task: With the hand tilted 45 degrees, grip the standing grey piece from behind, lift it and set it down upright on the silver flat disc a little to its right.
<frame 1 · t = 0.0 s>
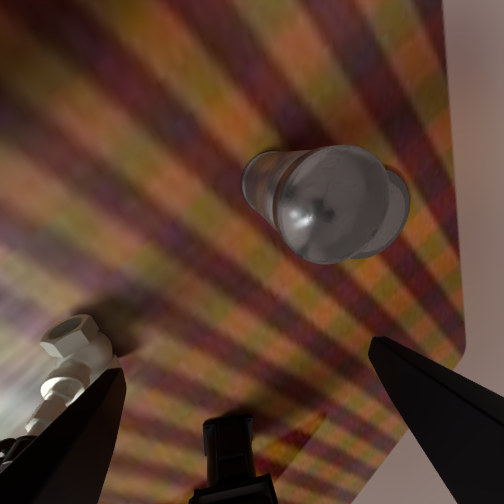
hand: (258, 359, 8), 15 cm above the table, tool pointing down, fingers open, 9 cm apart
grey piece: (270, 183, 21), on the table
silver flat disc: (364, 215, 24), on the table
valve: (95, 337, 23), on the table
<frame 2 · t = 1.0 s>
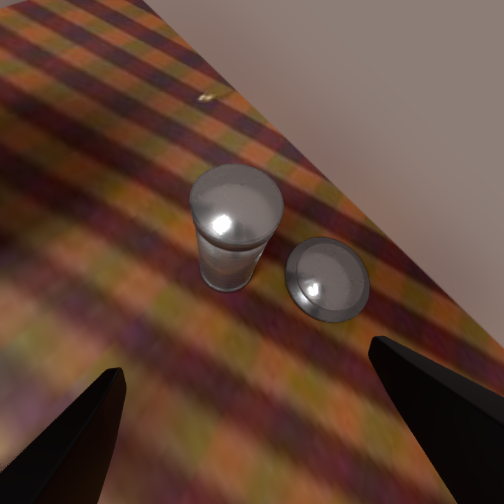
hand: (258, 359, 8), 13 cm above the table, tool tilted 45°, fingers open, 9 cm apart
grey piece: (226, 267, 23), on the table
silver flat disc: (326, 278, 25), on the table
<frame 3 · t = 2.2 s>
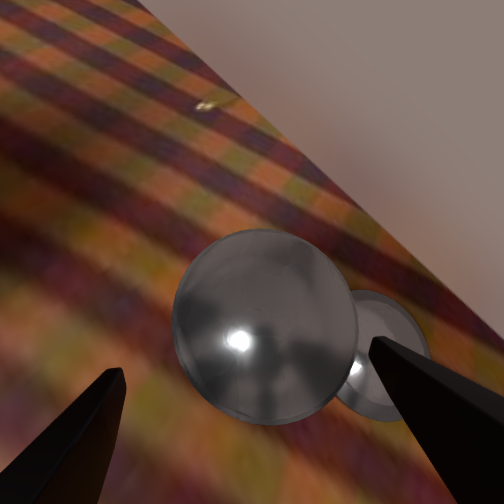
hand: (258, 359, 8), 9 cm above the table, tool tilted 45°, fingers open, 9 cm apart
grey piece: (235, 339, 17), on the table
silver flat disc: (370, 349, 18), on the table
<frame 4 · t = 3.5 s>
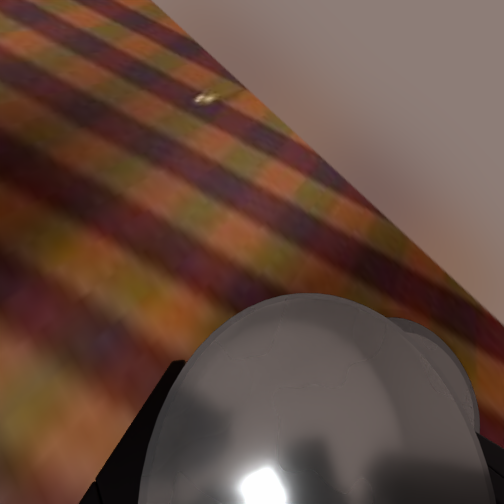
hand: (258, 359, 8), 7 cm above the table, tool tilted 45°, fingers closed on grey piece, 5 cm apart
grey piece: (241, 382, 14), on the table, touching gripper
silver flat disc: (404, 391, 15), on the table
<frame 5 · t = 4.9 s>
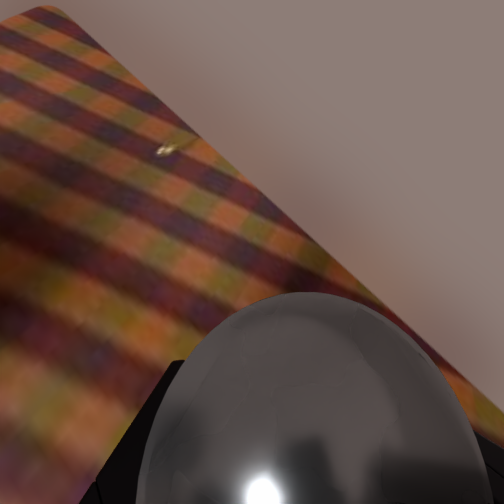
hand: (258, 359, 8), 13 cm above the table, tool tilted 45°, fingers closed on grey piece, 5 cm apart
grey piece: (241, 382, 14), point 7 cm above the table, touching gripper
when the fingers open (8 cm above the table, at t = 6.7 s): grey piece stays where it is, resting on silver flat disc.
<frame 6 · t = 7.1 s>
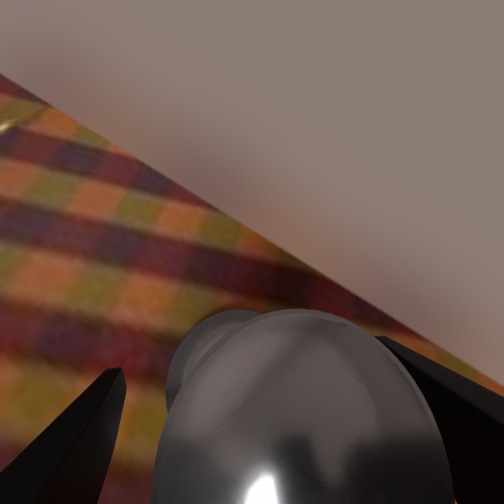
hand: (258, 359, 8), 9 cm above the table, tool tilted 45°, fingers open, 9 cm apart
grey piece: (240, 383, 14), point 1 cm above the table, touching silver flat disc
silver flat disc: (238, 379, 16), on the table
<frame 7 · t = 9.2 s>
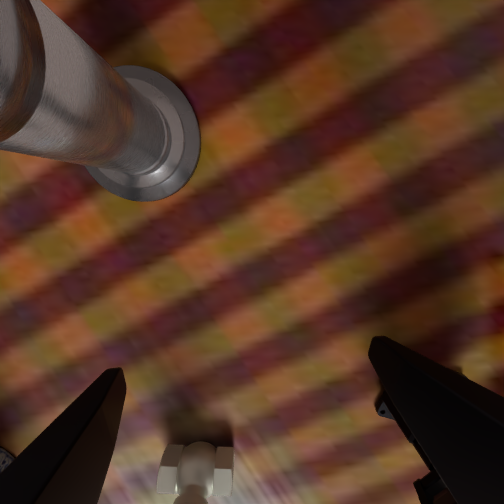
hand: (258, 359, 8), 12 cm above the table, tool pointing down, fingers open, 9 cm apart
grey piece: (134, 136, 16), point 1 cm above the table, touching silver flat disc
silver flat disc: (140, 139, 17), on the table
valve: (203, 444, 25), on the table
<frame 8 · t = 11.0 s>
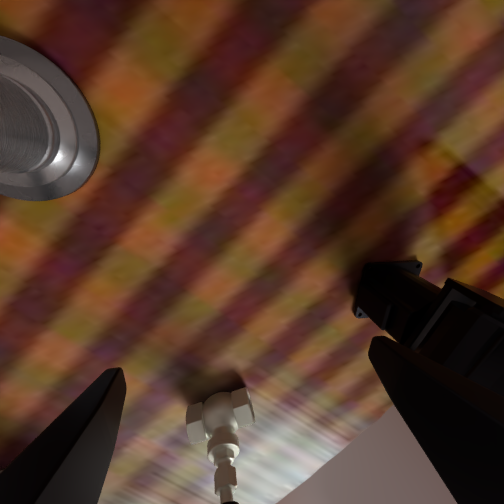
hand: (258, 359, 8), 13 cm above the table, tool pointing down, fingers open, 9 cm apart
grey piece: (9, 126, 14), point 1 cm above the table, touching silver flat disc
silver flat disc: (21, 127, 15), on the table
valve: (220, 395, 27), on the table
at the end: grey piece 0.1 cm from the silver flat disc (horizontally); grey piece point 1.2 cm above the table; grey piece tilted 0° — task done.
